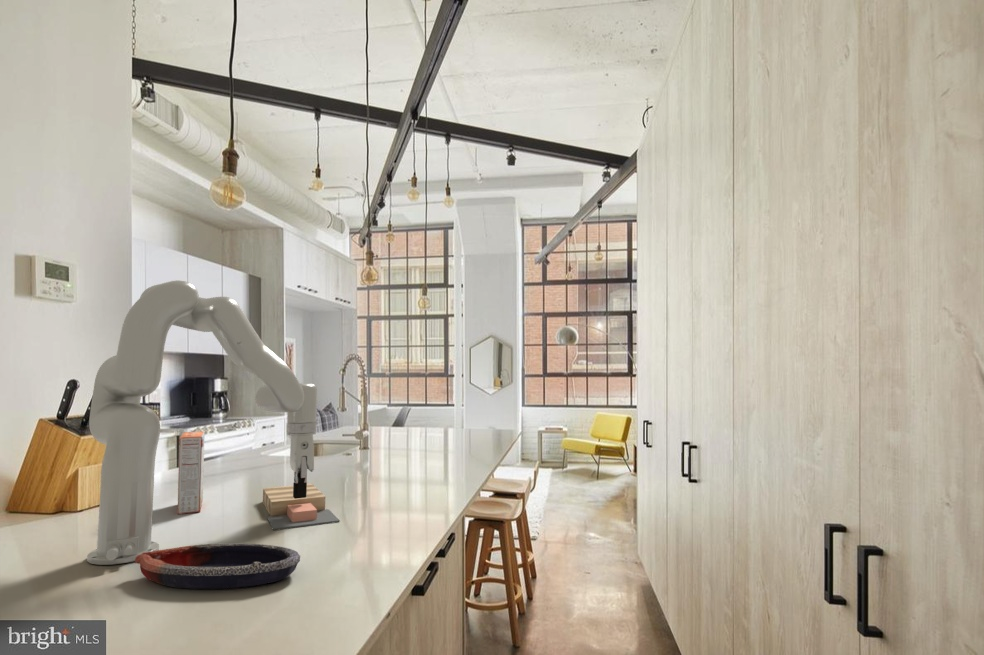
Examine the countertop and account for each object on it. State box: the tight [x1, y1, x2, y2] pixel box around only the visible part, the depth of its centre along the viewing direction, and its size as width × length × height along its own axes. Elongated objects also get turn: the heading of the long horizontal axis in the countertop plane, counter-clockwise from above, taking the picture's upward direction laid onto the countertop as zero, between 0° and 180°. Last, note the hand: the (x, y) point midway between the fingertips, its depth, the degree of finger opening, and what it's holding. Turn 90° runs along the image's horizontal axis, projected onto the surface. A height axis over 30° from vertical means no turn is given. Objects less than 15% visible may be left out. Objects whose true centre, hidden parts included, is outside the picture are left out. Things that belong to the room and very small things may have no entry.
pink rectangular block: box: [287, 503, 317, 522], centre depth 146 cm, size 9×6×2 cm, turn 29°
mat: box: [266, 509, 341, 531], centre depth 144 cm, size 13×16×1 cm
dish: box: [134, 543, 301, 590], centre depth 104 cm, size 16×31×5 cm, turn 86°
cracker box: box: [177, 430, 205, 515], centre depth 158 cm, size 14×6×21 cm, turn 25°
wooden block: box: [262, 483, 326, 516], centre depth 159 cm, size 20×14×4 cm
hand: (299, 497), depth 149 cm, fingers closed
